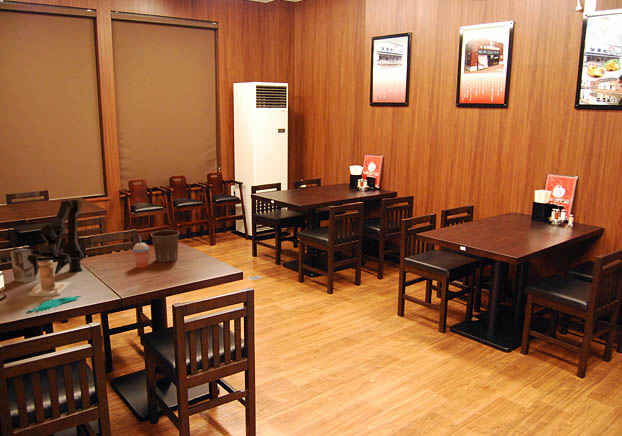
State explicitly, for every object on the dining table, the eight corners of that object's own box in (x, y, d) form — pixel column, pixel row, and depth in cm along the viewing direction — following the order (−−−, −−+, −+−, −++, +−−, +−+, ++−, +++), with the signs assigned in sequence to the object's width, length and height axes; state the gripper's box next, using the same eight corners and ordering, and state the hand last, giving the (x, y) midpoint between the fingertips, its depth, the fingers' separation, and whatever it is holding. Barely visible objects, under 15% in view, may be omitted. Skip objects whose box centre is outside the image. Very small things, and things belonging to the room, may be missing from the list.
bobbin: (49, 286, 250) (46, 259, 247) (59, 288, 248) (55, 260, 245) (38, 290, 245) (34, 262, 242) (47, 292, 242) (44, 264, 239)
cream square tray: (43, 284, 257) (42, 278, 256) (72, 284, 258) (71, 278, 257) (29, 296, 241) (28, 289, 240) (59, 295, 242) (58, 288, 242)
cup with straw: (145, 269, 281) (143, 237, 277) (130, 268, 283) (128, 237, 279) (153, 264, 290) (151, 233, 286) (139, 263, 292) (136, 233, 288)
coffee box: (37, 279, 265) (33, 249, 262) (25, 283, 260) (21, 252, 256) (25, 277, 269) (21, 247, 266) (13, 280, 263) (9, 250, 260)
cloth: (78, 294, 245) (78, 290, 245) (89, 302, 235) (88, 297, 235) (18, 308, 228) (18, 303, 228) (26, 317, 218) (26, 312, 218)
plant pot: (159, 255, 308) (158, 229, 305) (185, 256, 306) (183, 230, 302) (147, 263, 292) (145, 236, 289) (174, 264, 290) (172, 236, 287)
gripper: (26, 238, 244) (18, 267, 236) (66, 237, 246) (59, 266, 237) (35, 249, 254) (28, 278, 245) (74, 248, 255) (68, 276, 247)
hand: (45, 274), depth 243 cm, fingers open, 9 cm apart
